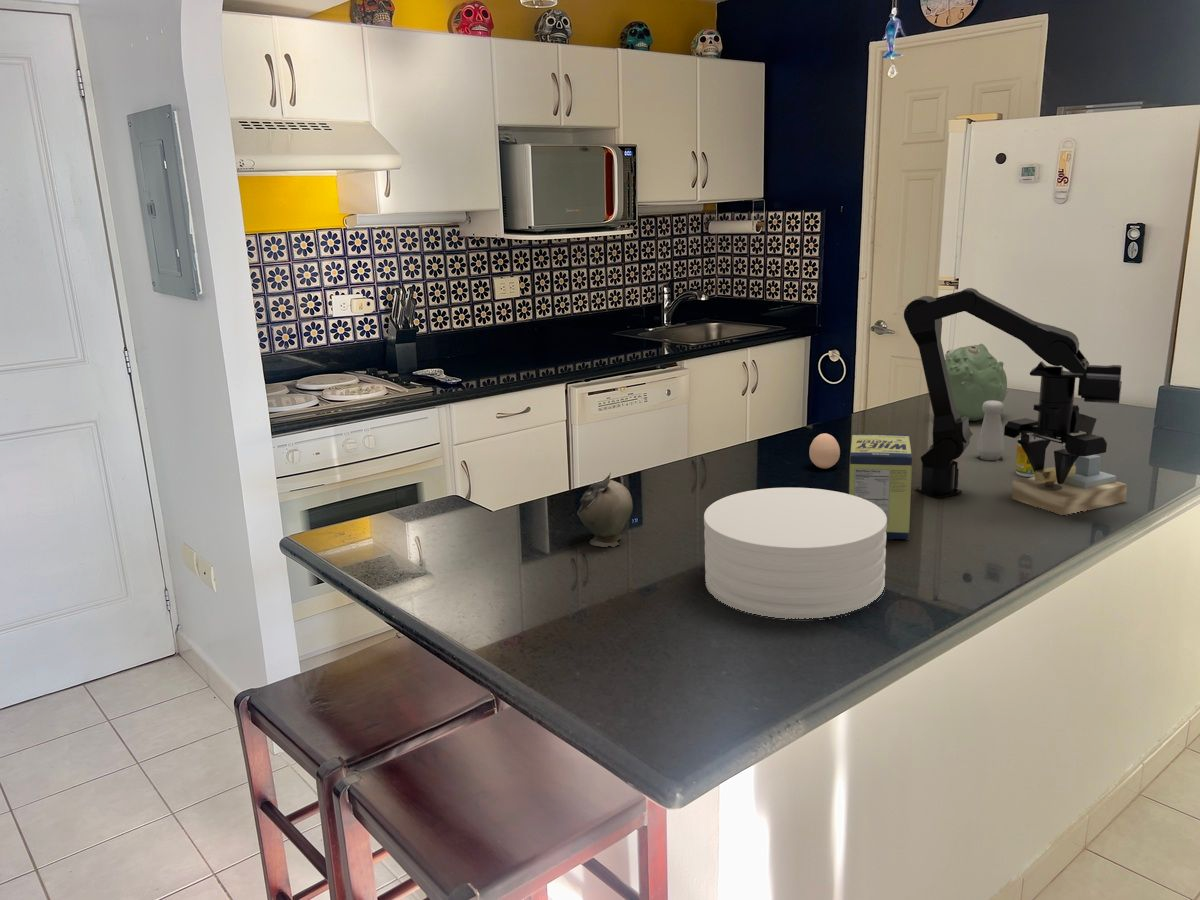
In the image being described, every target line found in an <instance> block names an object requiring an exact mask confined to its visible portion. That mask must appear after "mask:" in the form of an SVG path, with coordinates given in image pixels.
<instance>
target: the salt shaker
mask: <svg viewBox="0 0 1200 900" xmlns="http://www.w3.org/2000/svg"><path fill="white" fill-rule="evenodd" d="M1004 407H1005V406H1004V403H1003V402H1000V401H994V400H991V401H986V402H984V403H983V407H982V410H983V411H984V412H985V415H984V418H983V419H982V424H981V428H980V433H979V436H978V439H977V444H976V451H977V454H978V456H979V457H980V459H981V460H983V459H984V461H989V462H990V460H991V461H998V460H999V459H1000V458H1001V457H1002V455H1003V453H1004V451H1005V441H1004V440H1005V439H1004V432H1003V431H1004V430H1003V424H1002V415H1001V413H1002V412H1003V411H1004Z"/></svg>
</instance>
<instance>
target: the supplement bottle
mask: <svg viewBox="0 0 1200 900" xmlns="http://www.w3.org/2000/svg"><path fill="white" fill-rule="evenodd" d="M1020 439H1021V438H1019V439H1018V440H1020ZM1016 444H1017V445H1016V460H1015V474H1017V475H1018V476H1021V477H1025V478H1032V477H1035V472H1034V470H1033V468H1032V466H1031V464H1030V461H1029V459H1028V457H1027V455H1026V453H1025V452H1024V450H1023V448H1022V446H1021V444H1019V443H1016Z"/></svg>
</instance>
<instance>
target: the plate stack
mask: <svg viewBox="0 0 1200 900" xmlns="http://www.w3.org/2000/svg"><path fill="white" fill-rule="evenodd" d="M703 525H704V529H703V530H704V536H703V537H704V556H705V557H704V568H705V569H704V570H705V575H704V579H705V582H706V583H705V582H704V583H705V587H706V589H707V591H708V592H709V594H712V595H713V596H714V597H713V596H712V595H711V596H712V597H713V598H715V599H716V600H717V599H718V600H717V601H718V602H720V601H721V602H720V603H721V604H723V603H724V604H723V605H725V604H726V606H727V605H728V606H727V607H729V606H730V608H732V607H733V608H732V609H734V608H735V609H734V610H737V609H739V610H741V611H740V612H742V611H745V612H744V613H746V612H748V613H747V614H749V613H752V614H751V615H753V614H757V615H761V616H760V617H762V616H768V617H775V618H785V619H784V620H786V619H788V618H789V619H791V618H792V619H795V618H796V619H798V618H799V619H804V618H806V619H809V618H812V619H813V618H823V617H830V616H836V615H840V614H845V613H848V612H851V611H854V610H857V609H860V608H862V607H864V606H867V605H868V604H870V603H871V602H873V601H874V600H876V599H877V598H878V597H879V596H880V595H881V594H882V592H883V590H884V587H885V586H886V582H885V581H886V579H885V577H886V559H887V558H886V557H887V549H886V545H887V539H886V528H887V517H886V514H885V513H884V511H883V510H882V509H881V508H879V507H878V506H877V505H875V504H873V503H872V502H869V501H867V500H865V499H862V498H860V497H857V496H853V495H850V493H846V492H840V491H835V490H828V489H822V488H813V487H812V488H809V487H770V488H769V487H768V488H760V489H754V490H753V489H752V490H747V491H741V492H738V493H734V494H730V495H727V496H725V497H722V498H720V499H718V500H716V501H715V502H713V503H712V504H710V505H709V506H708V507H707V508H706V509H705V511H704V514H703ZM884 591H885V590H884ZM739 610H738V611H739ZM757 615H756V616H757ZM768 617H767V618H768ZM775 618H774V619H775Z"/></svg>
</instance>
